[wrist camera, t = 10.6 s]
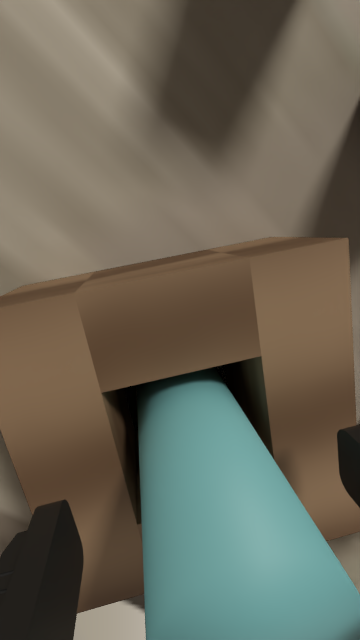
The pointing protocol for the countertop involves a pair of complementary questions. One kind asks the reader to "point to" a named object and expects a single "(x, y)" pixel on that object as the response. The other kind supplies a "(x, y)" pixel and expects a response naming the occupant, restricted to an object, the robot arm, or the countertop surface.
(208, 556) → the long pin
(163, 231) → the countertop surface
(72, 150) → the countertop surface
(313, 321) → the walnut block
